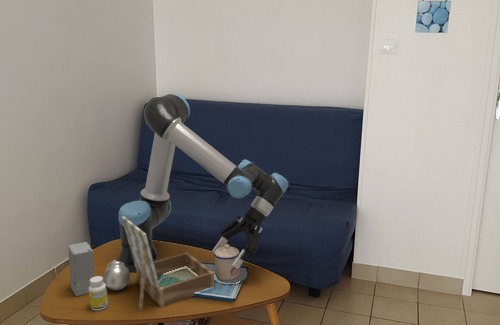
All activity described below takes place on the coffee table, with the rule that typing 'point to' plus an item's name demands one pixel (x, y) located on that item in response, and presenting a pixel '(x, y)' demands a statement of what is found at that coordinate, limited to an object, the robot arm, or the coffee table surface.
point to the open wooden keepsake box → (164, 270)
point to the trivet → (241, 277)
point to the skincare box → (80, 267)
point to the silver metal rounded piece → (116, 275)
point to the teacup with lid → (226, 262)
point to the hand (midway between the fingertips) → (224, 260)
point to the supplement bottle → (98, 293)
